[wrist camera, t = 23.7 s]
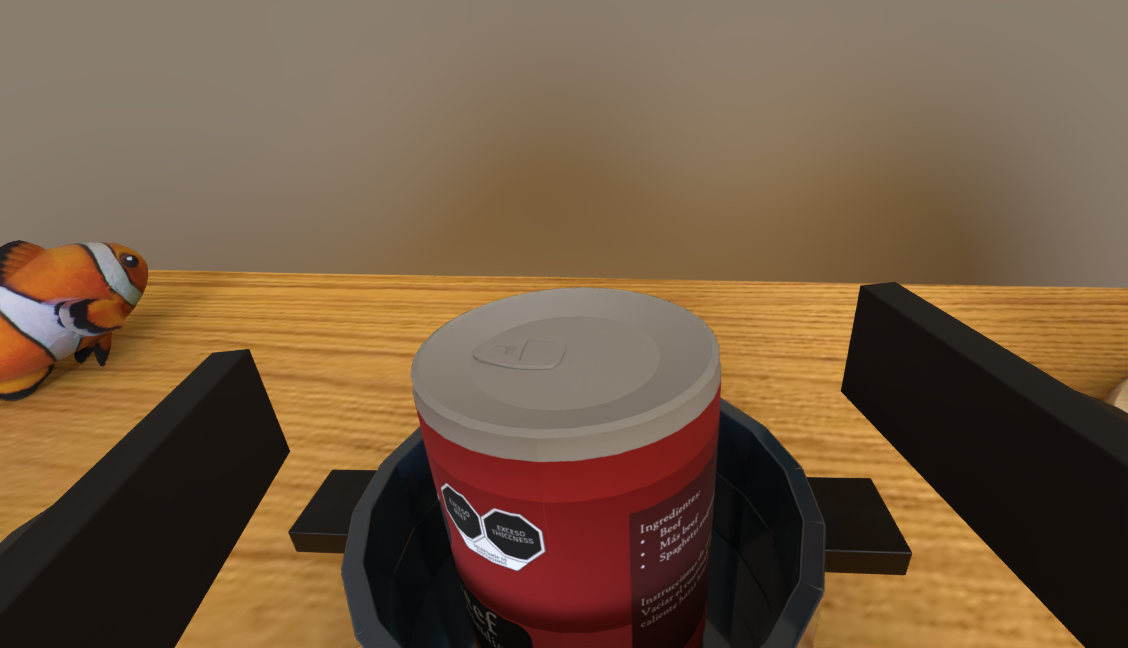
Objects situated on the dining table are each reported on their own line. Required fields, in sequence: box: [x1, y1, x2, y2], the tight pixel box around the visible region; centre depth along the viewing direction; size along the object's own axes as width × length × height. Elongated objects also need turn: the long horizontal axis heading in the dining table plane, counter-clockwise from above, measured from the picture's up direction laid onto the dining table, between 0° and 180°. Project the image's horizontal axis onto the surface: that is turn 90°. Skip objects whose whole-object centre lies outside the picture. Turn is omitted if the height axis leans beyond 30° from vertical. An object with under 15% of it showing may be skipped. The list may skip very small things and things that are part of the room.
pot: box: [341, 397, 826, 648], centre depth 18 cm, size 14×14×6 cm
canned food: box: [411, 287, 721, 648], centre depth 16 cm, size 8×8×11 cm
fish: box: [0, 240, 148, 401], centre depth 36 cm, size 10×18×10 cm, turn 161°
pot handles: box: [289, 470, 912, 575], centre depth 17 cm, size 3×18×1 cm, turn 84°
